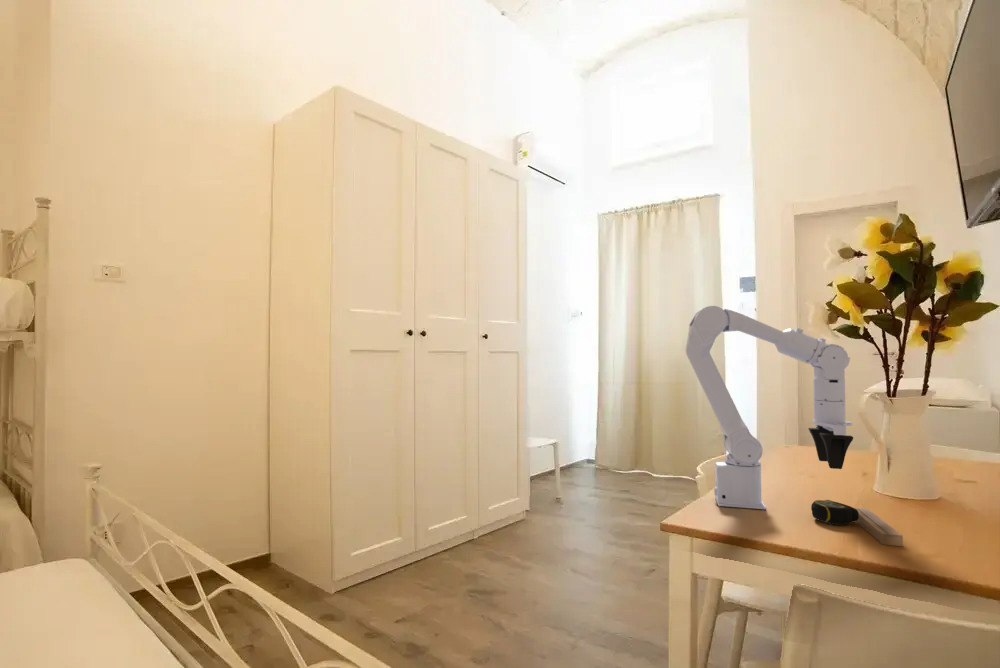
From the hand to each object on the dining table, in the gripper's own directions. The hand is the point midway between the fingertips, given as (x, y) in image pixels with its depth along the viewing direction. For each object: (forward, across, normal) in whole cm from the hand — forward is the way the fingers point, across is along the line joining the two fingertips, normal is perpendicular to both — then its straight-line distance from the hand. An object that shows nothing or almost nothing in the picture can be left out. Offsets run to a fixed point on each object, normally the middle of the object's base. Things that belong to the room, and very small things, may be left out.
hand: (830, 464), depth 113 cm
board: (+9, -13, -4) cm, 16 cm away
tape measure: (+10, -9, +2) cm, 13 cm away
